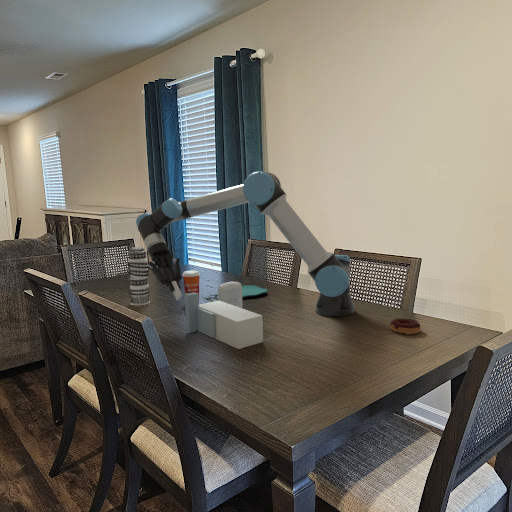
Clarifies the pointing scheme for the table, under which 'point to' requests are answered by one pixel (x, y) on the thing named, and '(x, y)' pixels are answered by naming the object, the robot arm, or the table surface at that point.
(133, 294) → the decorative candle
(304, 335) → the table surface
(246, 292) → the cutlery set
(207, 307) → the white rectangular block
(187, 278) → the paper cup
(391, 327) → the donut
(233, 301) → the grey gravestone
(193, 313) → the side door
